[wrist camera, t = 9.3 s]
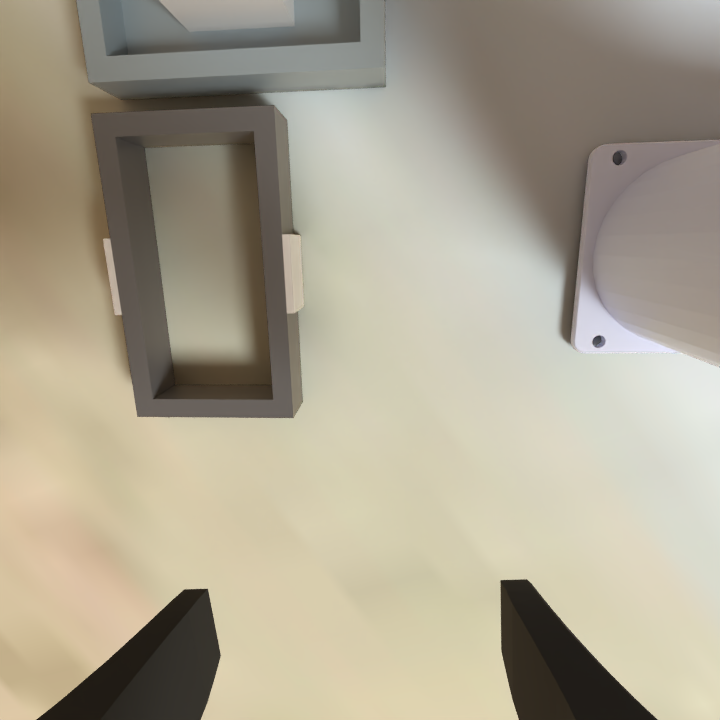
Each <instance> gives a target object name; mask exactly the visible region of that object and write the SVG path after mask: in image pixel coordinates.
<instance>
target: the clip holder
mask: <svg viewBox="0 0 720 720" xmlns="http://www.w3.org/2000/svg"><path fill="white" fill-rule="evenodd" d="M91 118H92V124H93V131H94V137H95V144H96V150H97V157H98V163H99V170H100V176H101V183H102V189H103V196H104V202H105V209H106V215H107V222H108V228H109V235H110V239H103V243H104V250H105V256H106V262H107V269H108V275H109V281H110V288H111V294H112V300H113V307H114V313H115V315H122V319H123V325H124V332H125V338H126V345H127V351H128V358H129V364H130V371H131V377H132V384H133V390H134V397H135V403H136V410H137V416H138V417H238V418H294V416H295V414H296V413H297V411H298V409H299V407H300V406H301V404H302V402H303V397H302V379H301V361H300V343H299V325H298V311H299V310H300V309H301V308H303V307H304V292H303V273H302V253H301V235H293V217H292V199H291V181H290V163H289V145H288V127H287V119H286V118H285V117H284V116H283V115H282V114H281V113H280V111H279V110H278V109H277V108H276V107H275V106H274V105H267V106H245V107H224V108H202V109H180V110H158V111H137V112H115V113H93V114H91ZM252 143H255V156H256V170H257V183H258V197H259V211H260V224H261V238H262V252H263V266H264V279H265V293H266V307H267V320H268V334H269V348H270V362H271V375H272V385H175V381H174V373H173V365H172V357H171V350H170V342H169V334H168V326H167V319H166V311H165V303H164V295H163V288H162V280H161V272H160V265H159V257H158V249H157V241H156V234H155V226H154V218H153V210H152V203H151V195H150V187H149V179H148V172H147V164H146V156H145V149H144V148H151V147H176V146H202V145H227V144H252Z"/></svg>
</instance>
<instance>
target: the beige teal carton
mask: <svg viewBox="0 0 720 720" xmlns="http://www.w3.org/2000/svg"><path fill="white" fill-rule="evenodd" d="M159 1H160V2H161V3H162V4H163V5H164V6H165V7H166V8H167V9H168V10H169V11H170V12H171V13H172V14H173V15H174V17H175V18H176V19H177V20H178V21H179V22H180V23H181V24H182V25H183V26H184V27H185V28H186V29H187V30H188V31H189V32H195V31H214V30H233V29H253V28H272V27H291V26H295V20H294V0H159Z"/></svg>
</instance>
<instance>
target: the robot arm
mask: <svg viewBox="0 0 720 720" xmlns="http://www.w3.org/2000/svg"><path fill="white" fill-rule="evenodd" d="M615 152H618V153H620V154H621V155H622V161H621V163H620V164H619V165H615V164H614V162H613V159H612V158H613V155H614V153H615ZM599 335H600V336H601V342H600V343H599V344H598V345H596V346H593V344H592V341H593V338H595V337H596V336H599ZM571 345H572V347H573V348H574V349H575V350H577V351H578V352H581V353H683V354H686V355H688V356H691V357H694V358H696V359H699V360H701V361H704V362H707V363H709V364H712V365H715V366H717V367H720V140H696V141H669V142H642V143H615V144H604V145H601V146H599V147H597V148H595V149H594V150H593V151H592V152H591V154H590V156H589V159H588V167H587V177H586V188H585V198H584V208H583V218H582V229H581V239H580V249H579V259H578V269H577V280H576V290H575V300H574V310H573V321H572V331H571ZM501 649H502V655H503V660H504V664H505V669H506V673H507V678H508V682H509V686H510V690H511V695H512V699H513V702H514V705H515V709H516V712H517V715H518V718H519V720H657V719H656V718H655V717H654V716H653V715H652V714H651V713H650V712H649V711H648V710H647V709H645V708H644V707H643V706H642V705H641V704H640V703H639V702H638V701H637V700H636V699H635V698H634V697H633V696H632V695H631V694H630V693H629V692H628V691H627V690H626V689H625V688H624V687H623V686H622V685H621V684H620V683H619V682H618V681H617V680H616V679H615V678H614V677H613V676H612V675H611V674H610V673H609V672H608V671H607V670H606V669H605V668H604V667H603V666H602V665H601V664H600V663H599V662H598V661H597V659H596V658H595V657H594V656H593V655H592V654H591V653H590V652H589V651H588V650H587V649H586V647H585V646H584V645H583V644H582V643H581V642H580V641H579V640H578V639H577V638H576V637H575V635H574V634H573V633H572V632H571V631H570V630H569V629H568V627H567V626H566V625H565V624H564V623H563V622H562V620H561V619H560V618H559V617H558V616H557V615H556V613H555V612H554V611H553V610H552V609H551V607H550V606H549V605H548V604H547V602H546V601H545V600H544V599H543V598H542V596H541V595H540V594H539V593H538V591H537V590H536V589H535V588H534V586H533V585H532V584H531V583H530V582H529V581H528V580H501ZM220 656H221V655H220V650H219V644H218V639H217V634H216V629H215V624H214V618H213V613H212V608H211V603H210V598H209V593H208V589H188V590H183V591H182V592H181V593H180V594H179V595H178V596H177V597H176V598H174V599H173V600H172V601H171V602H170V603H169V604H168V605H167V606H166V607H165V608H164V609H163V610H161V611H160V612H159V613H158V614H157V615H156V616H155V617H154V618H153V619H152V620H151V621H150V622H149V623H148V624H147V625H146V626H144V627H143V628H142V629H141V630H140V631H139V632H138V633H137V634H136V635H135V636H134V637H133V638H131V639H130V640H129V641H128V642H127V643H126V644H125V645H124V646H123V647H122V648H121V649H120V650H118V651H117V652H116V653H115V654H114V655H113V656H112V657H111V658H110V659H109V660H107V661H106V662H105V663H104V664H103V665H102V666H100V667H99V668H98V669H97V670H96V671H95V672H93V673H92V674H91V675H90V676H89V677H88V678H86V679H85V680H84V681H83V682H82V683H81V684H79V685H78V686H77V687H76V688H75V689H74V690H72V691H71V692H70V693H69V694H68V695H67V696H65V697H64V698H63V699H62V700H61V701H59V702H58V703H57V704H56V705H54V706H53V707H52V708H51V709H49V710H48V711H47V712H46V713H44V714H43V715H42V716H40V717H39V718H38V719H37V720H201V717H202V715H203V712H204V710H205V707H206V704H207V702H208V698H209V695H210V692H211V688H212V685H213V682H214V678H215V675H216V671H217V667H218V664H219V660H220Z"/></svg>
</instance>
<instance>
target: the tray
mask: <svg viewBox="0 0 720 720" xmlns="http://www.w3.org/2000/svg"><path fill="white" fill-rule="evenodd" d="M76 2H77V9H78V15H79V22H80V28H81V35H82V41H83V48H84V55H85V61H86V68H87V74H88V81H89V83H90V84H92V85H94V86H96V87H98V88H100V89H102V90H104V91H106V92H107V93H109V94H111V95H113V96H115V97H117V98H119V99H121V100H127V99H148V98H169V97H190V96H210V95H231V94H252V93H273V92H293V91H314V90H335V89H356V88H376V87H386V77H385V0H294V20H295V26H291V27H272V28H253V29H233V30H214V31H195V32H189V31H188V30H187V29H186V28H185V27H184V26H183V25H182V24H181V23H180V22H179V21H178V20H177V19H176V18H175V17H174V15H173V14H172V13H171V12H170V11H169V10H168V9H167V8H166V7H165V6H164V5H163V4H162V3H161V2H160V1H159V0H76Z"/></svg>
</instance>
